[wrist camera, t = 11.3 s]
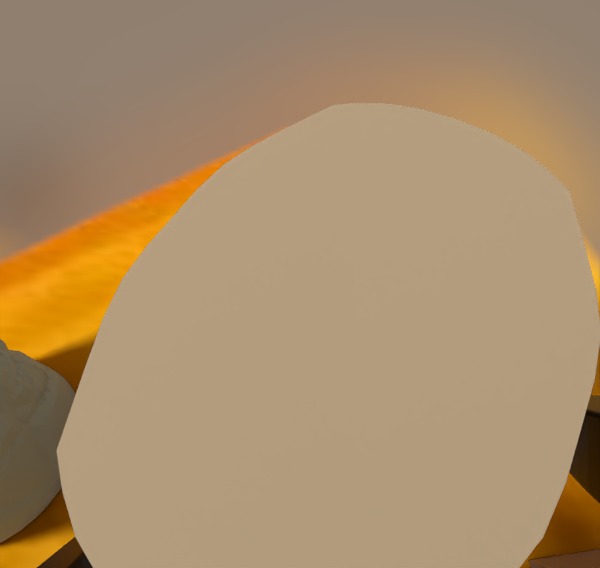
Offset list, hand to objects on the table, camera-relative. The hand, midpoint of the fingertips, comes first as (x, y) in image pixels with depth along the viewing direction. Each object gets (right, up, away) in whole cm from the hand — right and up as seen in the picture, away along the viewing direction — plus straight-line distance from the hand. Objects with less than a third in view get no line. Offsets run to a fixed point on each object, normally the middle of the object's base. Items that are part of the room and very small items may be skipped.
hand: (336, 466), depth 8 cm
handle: (+1, -3, +10) cm, 10 cm away
